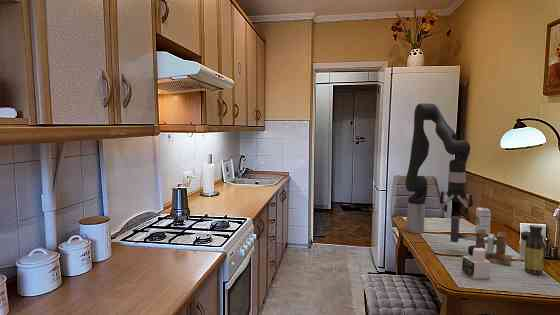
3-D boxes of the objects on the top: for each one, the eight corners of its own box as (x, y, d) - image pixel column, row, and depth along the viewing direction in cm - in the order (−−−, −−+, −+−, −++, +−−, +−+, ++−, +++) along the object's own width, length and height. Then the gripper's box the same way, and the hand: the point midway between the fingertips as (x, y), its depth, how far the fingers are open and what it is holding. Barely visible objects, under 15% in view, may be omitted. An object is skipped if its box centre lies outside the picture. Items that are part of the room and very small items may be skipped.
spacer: (487, 252, 148) (487, 237, 147) (488, 247, 153) (489, 233, 153) (492, 253, 147) (492, 238, 146) (493, 248, 152) (494, 234, 152)
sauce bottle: (546, 276, 131) (549, 228, 129) (527, 274, 133) (530, 227, 131) (538, 269, 137) (541, 224, 136) (521, 268, 139) (524, 223, 137)
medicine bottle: (461, 271, 136) (462, 244, 135) (477, 271, 136) (478, 243, 135) (473, 279, 129) (474, 250, 128) (489, 278, 129) (491, 249, 128)
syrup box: (490, 234, 183) (491, 210, 182) (478, 234, 185) (480, 209, 183) (485, 231, 189) (487, 207, 188) (474, 231, 190) (476, 207, 189)
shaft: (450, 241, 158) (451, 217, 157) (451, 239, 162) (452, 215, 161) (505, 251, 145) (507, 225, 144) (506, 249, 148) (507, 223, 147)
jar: (546, 261, 146) (548, 235, 145) (536, 264, 142) (538, 238, 141) (524, 254, 154) (526, 230, 153) (514, 257, 150) (516, 232, 150)
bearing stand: (468, 257, 150) (469, 232, 150) (472, 250, 160) (473, 226, 159) (510, 266, 141) (511, 239, 140) (511, 257, 150) (512, 233, 149)
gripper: (439, 180, 158) (438, 212, 159) (472, 183, 149) (471, 217, 151) (442, 178, 164) (441, 210, 165) (474, 181, 155) (473, 214, 157)
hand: (455, 213), depth 158 cm, fingers open, 8 cm apart
